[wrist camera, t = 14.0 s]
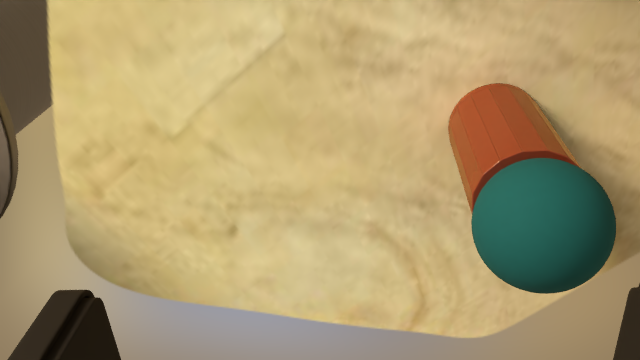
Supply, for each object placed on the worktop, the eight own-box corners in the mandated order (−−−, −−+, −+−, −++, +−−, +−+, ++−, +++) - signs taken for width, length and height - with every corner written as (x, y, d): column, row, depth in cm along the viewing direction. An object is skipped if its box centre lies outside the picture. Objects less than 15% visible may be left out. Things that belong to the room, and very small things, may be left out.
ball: (461, 243, 31) (479, 323, 26) (465, 138, 28) (487, 204, 23) (581, 240, 30) (625, 322, 25) (598, 132, 27) (652, 199, 22)
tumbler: (447, 166, 38) (469, 249, 30) (449, 85, 35) (474, 153, 27) (534, 162, 37) (580, 246, 29) (543, 80, 34) (596, 147, 27)
